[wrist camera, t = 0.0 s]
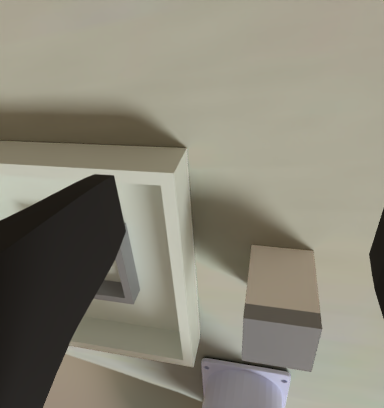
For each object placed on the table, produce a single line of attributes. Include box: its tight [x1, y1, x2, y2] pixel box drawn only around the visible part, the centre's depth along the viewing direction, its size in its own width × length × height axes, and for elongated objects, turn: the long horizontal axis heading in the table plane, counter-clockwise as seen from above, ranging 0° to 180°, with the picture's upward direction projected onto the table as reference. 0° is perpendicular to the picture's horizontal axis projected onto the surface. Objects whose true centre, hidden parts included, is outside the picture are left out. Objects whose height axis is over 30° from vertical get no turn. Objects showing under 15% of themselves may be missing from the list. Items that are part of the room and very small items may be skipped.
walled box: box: [0, 141, 201, 367], centre depth 25 cm, size 18×16×3 cm
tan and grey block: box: [242, 245, 322, 372], centre depth 21 cm, size 4×4×6 cm
